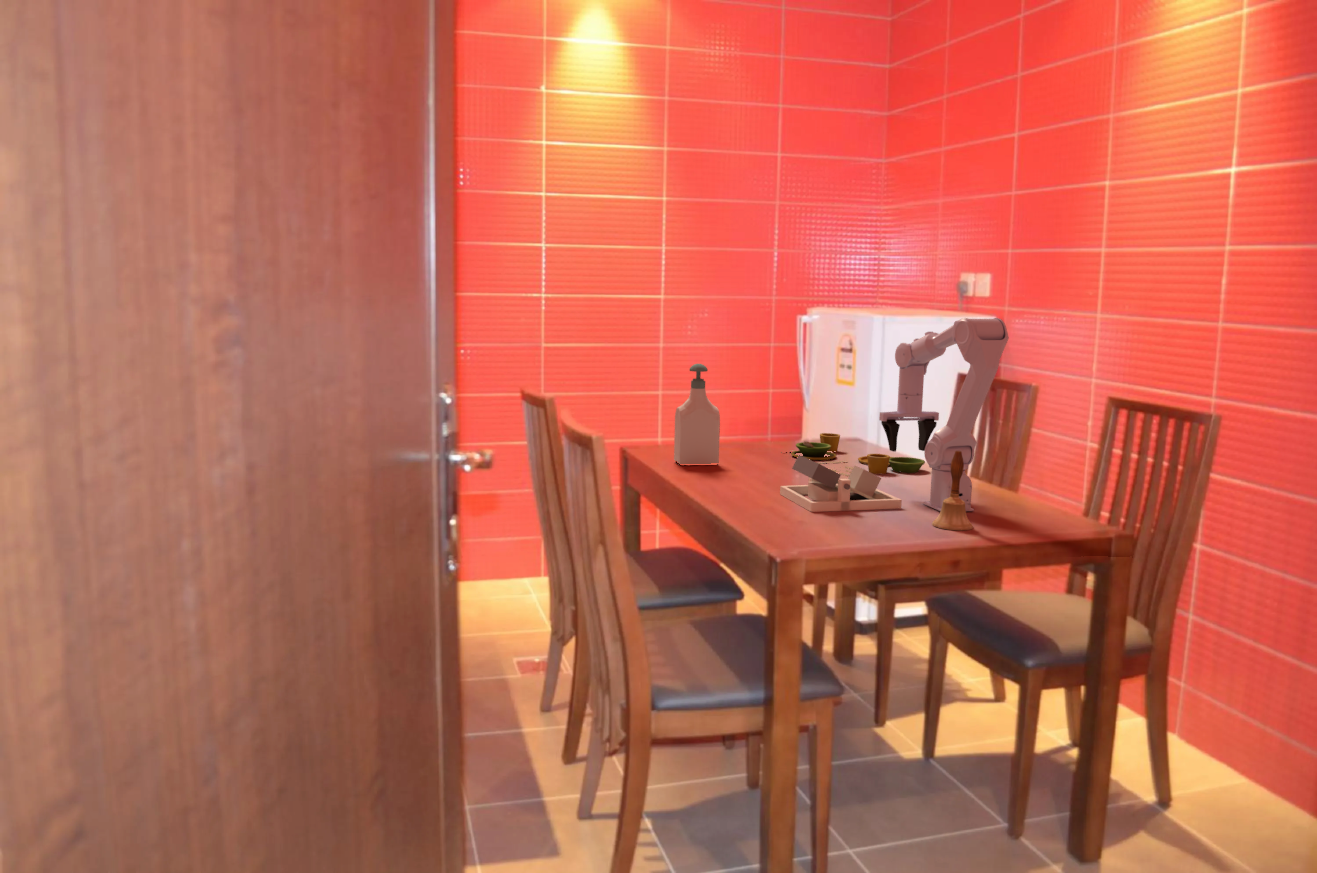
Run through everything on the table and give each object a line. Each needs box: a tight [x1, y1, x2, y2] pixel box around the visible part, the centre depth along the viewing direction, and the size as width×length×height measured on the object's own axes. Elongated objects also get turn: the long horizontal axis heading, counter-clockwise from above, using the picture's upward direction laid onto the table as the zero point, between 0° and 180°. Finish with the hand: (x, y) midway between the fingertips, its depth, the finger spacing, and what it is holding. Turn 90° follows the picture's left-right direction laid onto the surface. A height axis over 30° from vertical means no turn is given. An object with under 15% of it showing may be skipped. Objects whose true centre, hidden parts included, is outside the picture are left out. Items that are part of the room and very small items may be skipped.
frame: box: [779, 477, 902, 513], centre depth 243 cm, size 21×22×7 cm
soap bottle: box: [673, 363, 721, 465], centre depth 287 cm, size 11×8×27 cm
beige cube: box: [847, 465, 882, 497], centre depth 244 cm, size 5×5×5 cm
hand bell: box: [931, 451, 974, 531], centre depth 219 cm, size 8×8×16 cm
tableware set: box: [790, 432, 926, 477], centre depth 296 cm, size 41×28×6 cm
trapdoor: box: [791, 455, 887, 500], centre depth 242 cm, size 14×19×4 cm
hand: (907, 450), depth 252 cm, fingers open, 7 cm apart
